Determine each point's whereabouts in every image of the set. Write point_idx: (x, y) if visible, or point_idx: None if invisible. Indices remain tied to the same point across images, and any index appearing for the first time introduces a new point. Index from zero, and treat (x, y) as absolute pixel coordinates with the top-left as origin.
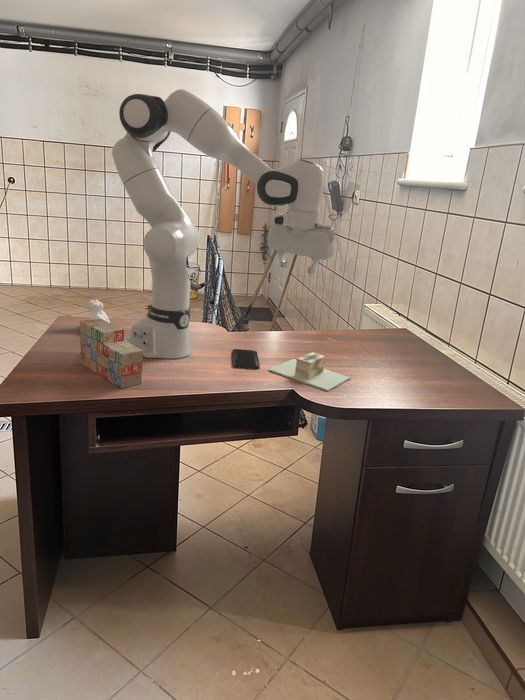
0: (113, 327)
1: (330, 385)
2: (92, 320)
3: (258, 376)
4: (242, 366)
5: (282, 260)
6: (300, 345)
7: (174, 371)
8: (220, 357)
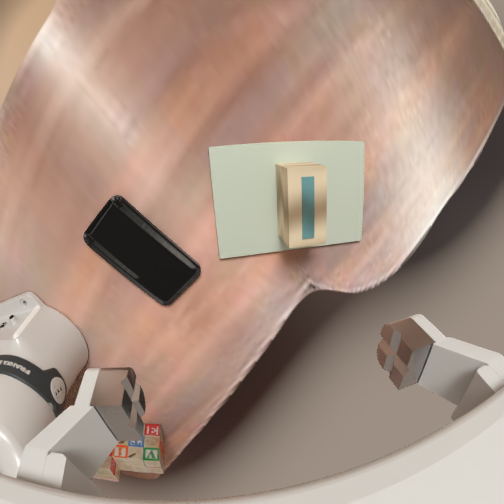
0: (98, 470)
1: (355, 218)
2: None
3: (229, 295)
4: (178, 295)
5: (108, 439)
6: (145, 35)
7: (137, 383)
8: (105, 287)
